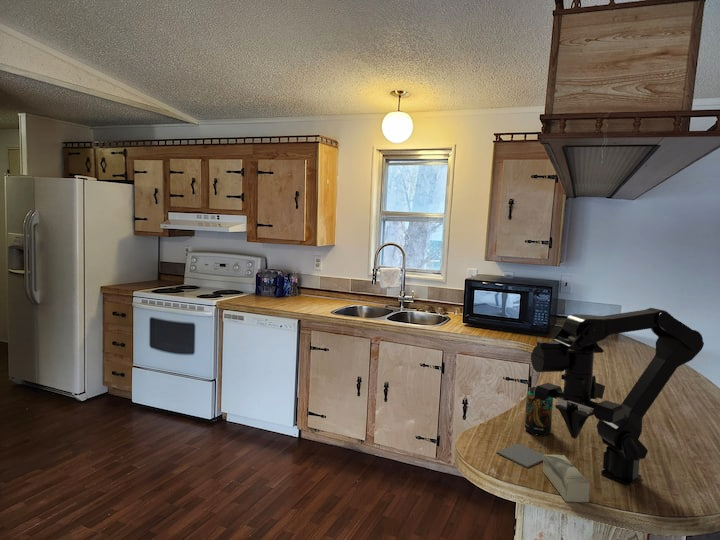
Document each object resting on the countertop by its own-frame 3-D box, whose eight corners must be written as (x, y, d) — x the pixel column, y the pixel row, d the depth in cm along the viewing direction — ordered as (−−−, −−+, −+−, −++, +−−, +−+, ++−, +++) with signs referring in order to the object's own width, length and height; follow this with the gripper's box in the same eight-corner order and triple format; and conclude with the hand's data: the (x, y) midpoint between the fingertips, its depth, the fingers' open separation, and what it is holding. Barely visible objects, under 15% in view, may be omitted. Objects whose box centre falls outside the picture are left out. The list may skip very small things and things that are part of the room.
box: (564, 454, 112) (592, 482, 99) (563, 472, 113) (590, 503, 100) (542, 454, 112) (567, 482, 99) (541, 472, 112) (565, 502, 100)
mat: (548, 458, 119) (549, 456, 119) (527, 467, 114) (527, 466, 114) (518, 444, 127) (518, 443, 127) (496, 453, 121) (496, 451, 121)
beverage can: (524, 433, 134) (526, 392, 133) (524, 424, 141) (527, 384, 140) (551, 438, 132) (553, 395, 131) (550, 428, 138) (553, 388, 137)
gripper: (638, 376, 105) (633, 444, 106) (560, 356, 120) (556, 417, 121) (613, 384, 99) (608, 457, 100) (534, 363, 114) (530, 426, 115)
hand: (574, 437), depth 109 cm, fingers closed
